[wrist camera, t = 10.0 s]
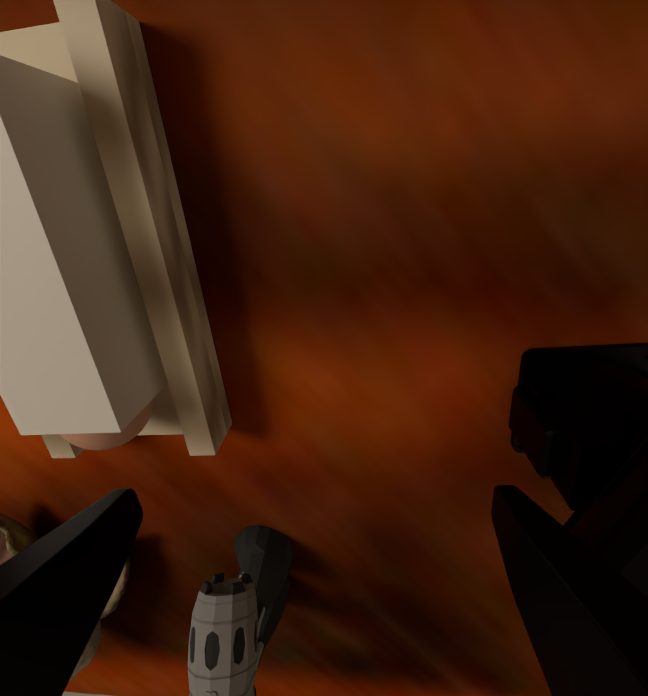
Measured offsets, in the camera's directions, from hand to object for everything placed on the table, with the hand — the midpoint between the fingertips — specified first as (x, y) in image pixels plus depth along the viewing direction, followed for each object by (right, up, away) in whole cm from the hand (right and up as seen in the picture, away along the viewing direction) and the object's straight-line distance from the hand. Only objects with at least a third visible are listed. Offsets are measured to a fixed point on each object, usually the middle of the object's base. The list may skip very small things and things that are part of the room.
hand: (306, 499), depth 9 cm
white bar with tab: (-11, +8, +9) cm, 17 cm away
